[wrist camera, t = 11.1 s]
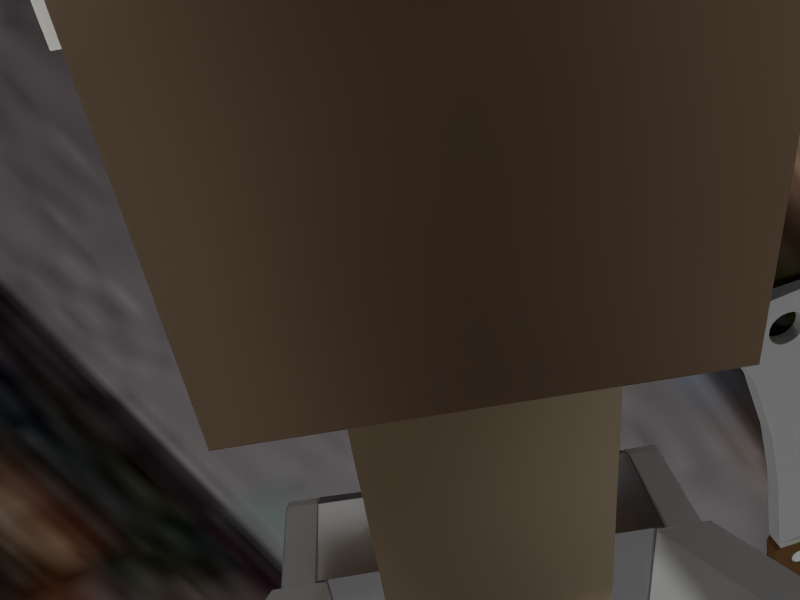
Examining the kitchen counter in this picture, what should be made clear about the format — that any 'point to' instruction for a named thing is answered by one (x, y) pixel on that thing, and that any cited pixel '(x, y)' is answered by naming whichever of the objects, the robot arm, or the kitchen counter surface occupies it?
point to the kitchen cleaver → (781, 425)
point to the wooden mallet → (450, 240)
